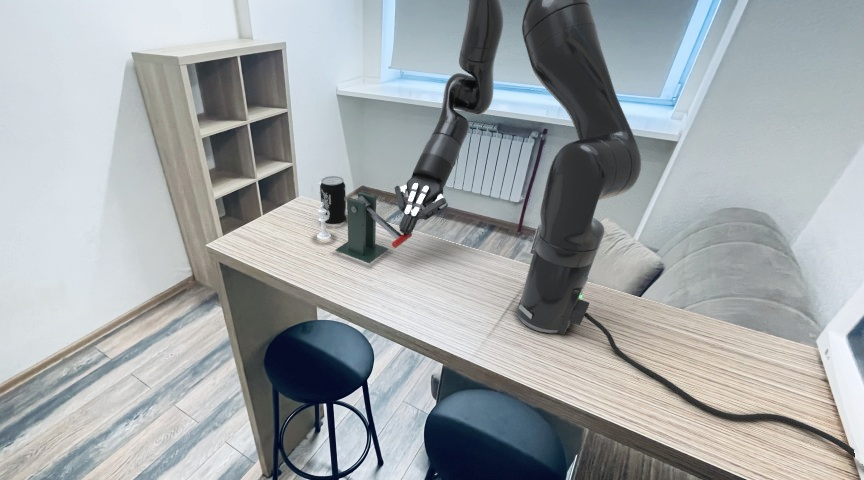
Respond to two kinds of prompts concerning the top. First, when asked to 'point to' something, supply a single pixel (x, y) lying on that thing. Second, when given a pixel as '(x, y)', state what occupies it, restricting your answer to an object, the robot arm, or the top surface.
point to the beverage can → (333, 199)
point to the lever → (385, 225)
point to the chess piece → (323, 223)
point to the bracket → (361, 231)
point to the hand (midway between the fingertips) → (403, 232)
